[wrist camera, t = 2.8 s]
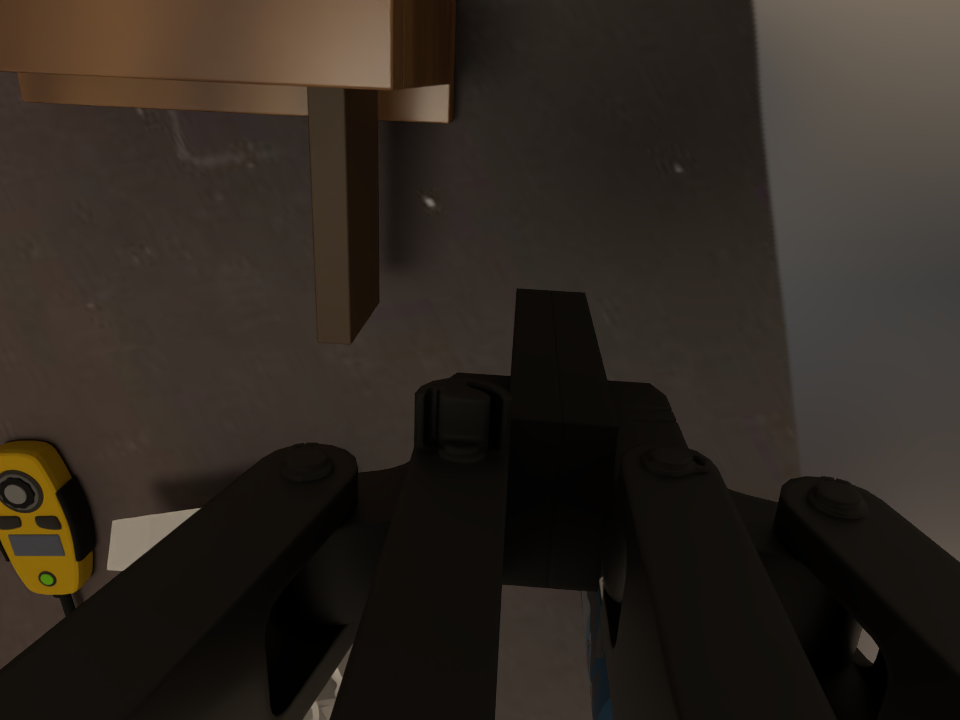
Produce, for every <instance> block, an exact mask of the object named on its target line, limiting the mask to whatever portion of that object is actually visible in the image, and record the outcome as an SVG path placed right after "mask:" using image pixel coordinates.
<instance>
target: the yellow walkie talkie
mask: <svg viewBox="0 0 960 720" xmlns="http://www.w3.org/2000/svg"><path fill="white" fill-rule="evenodd" d="M94 547H95V539H94V530H93V525H92V520H91V516H90V512H89V509H88V506H87V503H86V500H85V498H84V495H83V493H82V491H81V488H80V486H79V484H78V482H77V480H76V478H75V477H73V478H72V477H71V475H70V473H69V471H68V469H67V467H66V465H65V464H64V462H63V460H62V459H61V457H60V455H59V454H58V452H57V451H56V449H55V448H54V447H53V446H52V445H50V444H48V443H46V442H41V441H14V442H8V443H5V444H3V445H1V446H0V550H1V552H2V554H3V556H4V557H5V559H6V561H8V562H9V561H10V562H11V563H12V565H13V567H14V569H15V570H16V572H17V574H18V575H19V577H20V578H21V580H22V581H23V583H24V584H25V585H26V587H27V588H28V589H29V590H30V591H33V592H35V593H40V594H46V595H53V596H54V597H56V598H60V601H61V604H62V607H63V610H64V613H65V616H68V615H69V614H70V613H71V612H73V611H74V610H75V609H76V608H75V605H74V602H73V599H72V596H71V593H74V592H75V591H77V590H78V589H80V588H81V587H82V586H83V585H84V584H85V582H86V581H87V580H88V579H89V577H90V575H91V573H92V568H93V553H92V550H93V548H94Z"/></svg>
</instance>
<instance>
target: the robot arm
mask: <svg viewBox="0 0 960 720" xmlns="http://www.w3.org/2000/svg"><path fill="white" fill-rule="evenodd" d="M671 410H672V409H671V407H670V404H669V402H668V400H667V397H666V395H664V394H663V393H662V392H660V391H659V390H658V389H656V388H655V387H654V386H652V385H651V384H650V383H637V382H622V381H607V378H606V374H605V370H604V366H603V362H602V358H601V354H600V350H599V346H598V342H597V338H596V334H595V330H594V326H593V322H592V318H591V314H590V311H589V307H588V303H587V299H586V295H585V293H581V292H565V291H548V290H532V289H517V292H516V306H515V321H514V336H513V350H512V365H511V376H501V375H486V374H471V373H456V374H455V375H453V376H452V377H450V378H447V379H441V380H436V381H432V382H430V383H428V384H425V385H423V386H421V387H420V388H419V389H418V391H417V392H416V393H415V428H414V450H413V453H412V456H411V459H410V461H409V462H407V463H405V464H403V465H400V466H397V467H394V468H391V469H385V470H379V471H370V472H361V473H358V466H357V462H356V458H355V457H354V456H353V455H351V454H350V453H349V452H348V451H346V450H344V449H341V448H338V447H335V446H332V445H324V444H318V443H306V444H304V443H301V444H295V445H292V446H290V447H286V448H283V449H279V450H276V451H274V452H273V453H271V454H269V455H267V456H266V457H264V458H262V459H261V460H260V461H259V462H257V463H256V464H255V465H254V466H252V467H251V468H250V469H249V470H247V471H246V472H245V473H244V474H242V475H241V476H240V477H239V478H237V479H236V480H235V481H234V482H232V483H231V484H230V485H229V486H228V487H226V488H225V489H224V490H223V491H221V492H220V493H219V494H218V495H216V496H215V497H214V498H213V499H211V500H210V501H209V502H208V503H206V504H205V505H204V506H203V507H201V508H200V509H199V510H198V511H197V512H195V513H194V514H193V515H192V516H190V517H189V518H188V519H187V520H185V521H184V522H183V523H182V524H180V525H179V526H178V527H177V528H175V529H174V530H173V531H172V532H170V533H169V534H168V535H167V536H166V537H164V538H163V539H162V540H161V541H159V542H158V543H157V544H156V545H154V546H153V547H152V548H151V549H149V550H148V551H147V552H146V553H144V554H143V555H142V556H141V557H139V558H138V559H137V560H136V561H135V562H133V563H132V564H131V565H130V566H128V567H127V568H126V569H125V570H123V571H122V572H121V573H120V574H118V575H117V576H116V577H115V578H113V579H112V580H111V581H110V582H108V583H107V584H106V585H105V586H104V587H102V588H101V589H100V590H99V591H97V592H96V593H95V594H94V595H92V596H91V597H90V598H89V599H87V600H86V601H85V602H84V603H82V604H81V605H80V606H79V607H77V608H76V609H75V610H74V611H73V612H71V613H70V614H69V615H68V616H66V617H65V618H64V619H63V620H61V621H60V622H59V623H58V624H56V625H55V626H54V627H53V628H51V629H50V630H49V631H48V632H46V633H45V634H44V635H43V636H42V637H40V638H39V639H38V640H37V641H35V642H34V643H33V644H32V645H30V646H29V647H28V648H27V649H25V650H24V651H23V652H22V653H20V654H19V655H18V656H17V657H15V658H14V659H13V660H12V661H11V662H9V663H8V664H7V665H6V666H4V667H3V668H2V669H1V670H0V720H303V718H304V717H305V715H306V714H307V712H308V711H309V709H310V708H311V706H312V705H313V703H314V702H315V700H316V699H317V697H318V696H319V694H320V693H321V691H322V690H323V688H324V687H325V685H326V684H327V682H328V681H329V679H330V678H331V676H332V675H333V673H334V672H335V670H336V669H337V667H338V666H339V664H340V663H341V661H342V660H343V658H344V657H345V655H346V654H347V652H348V650H349V649H350V647H351V646H352V644H353V646H352V649H351V652H350V655H349V658H348V662H347V665H346V668H345V671H344V674H343V678H342V681H341V684H340V687H339V690H338V694H337V697H336V700H335V703H334V707H333V710H332V713H331V716H330V719H329V720H495V705H496V686H497V667H498V648H499V630H500V611H501V592H502V584H503V585H516V586H528V587H541V588H553V589H566V590H578V591H591V592H598V587H599V579H600V572H601V566H602V573H603V580H604V589H603V597H602V605H601V612H600V620H599V627H598V635H597V642H596V650H595V658H603V653H604V650H605V658H606V666H607V674H608V682H609V690H610V698H611V706H612V714H613V720H960V562H959V561H957V560H956V559H955V558H954V557H952V556H951V555H950V554H949V553H947V552H946V551H945V550H944V549H942V548H941V547H940V546H938V545H937V544H936V543H935V542H934V541H932V540H931V539H930V538H929V537H927V536H926V535H925V534H924V533H922V532H921V531H920V530H919V529H917V528H916V527H915V526H914V525H912V524H911V523H910V522H909V521H907V520H906V519H905V518H904V517H902V516H901V515H900V514H899V513H897V512H896V511H895V510H894V509H892V508H891V507H890V506H889V505H887V504H886V503H885V502H884V501H883V500H881V499H879V498H878V497H876V496H874V495H873V494H871V493H870V492H868V491H867V490H864V489H862V488H859V487H857V486H854V485H852V484H851V483H849V482H847V481H844V480H841V479H836V480H834V478H832V477H825V476H824V477H823V476H822V477H807V476H805V477H800V478H795V479H790V480H789V481H788V482H786V483H785V484H784V485H782V488H781V493H780V497H779V501H778V502H774V501H770V500H765V499H761V498H757V497H753V496H749V495H745V494H742V493H739V492H735V491H732V490H730V489H728V488H727V487H726V485H725V483H724V481H723V479H722V477H721V475H720V473H719V470H718V468H717V467H716V466H715V465H714V464H713V463H712V461H711V460H710V459H708V458H707V457H705V456H703V455H702V454H700V453H698V452H697V451H694V450H691V449H688V446H687V444H686V442H685V439H684V437H683V435H682V432H681V430H680V428H679V425H678V423H676V418H675V416H674V414H673V412H671ZM862 628H863V629H864V630H865V631H866V632H867V633H868V634H869V635H870V636H871V637H872V638H873V640H874V641H875V643H876V644H877V645H878V647H879V651H878V654H877V658H876V660H875V662H874V664H873V663H871V662H870V661H869V660H868V659H867V658H866V657H865V656H864V655H863V654H862V653H861V652H860V651H859V649H858V648H857V644H858V641H859V638H860V634H861V631H862Z"/></svg>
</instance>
